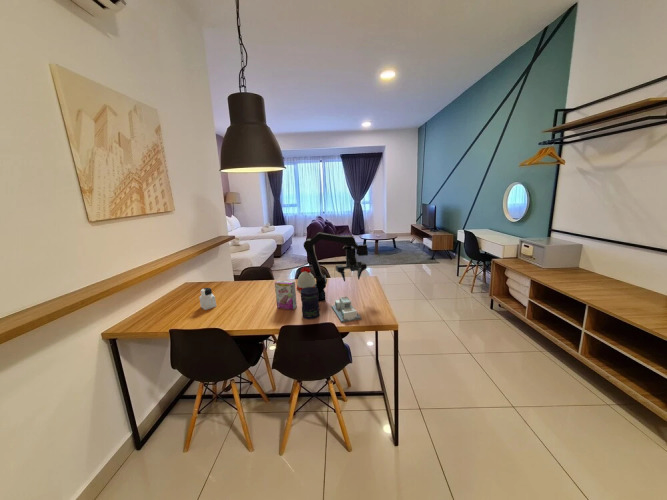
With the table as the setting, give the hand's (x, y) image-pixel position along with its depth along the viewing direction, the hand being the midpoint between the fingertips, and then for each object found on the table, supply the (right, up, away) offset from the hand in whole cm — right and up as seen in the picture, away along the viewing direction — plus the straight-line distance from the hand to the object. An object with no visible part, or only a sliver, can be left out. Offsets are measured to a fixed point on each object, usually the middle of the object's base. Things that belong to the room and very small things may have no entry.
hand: (351, 280), depth 168 cm
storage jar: (-24, -18, -17) cm, 34 cm away
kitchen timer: (-31, -8, +27) cm, 42 cm away
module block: (-4, -15, -17) cm, 23 cm away
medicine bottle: (-89, -17, +1) cm, 91 cm away
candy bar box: (-39, -16, -6) cm, 43 cm away
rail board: (-4, -16, -17) cm, 24 cm away
